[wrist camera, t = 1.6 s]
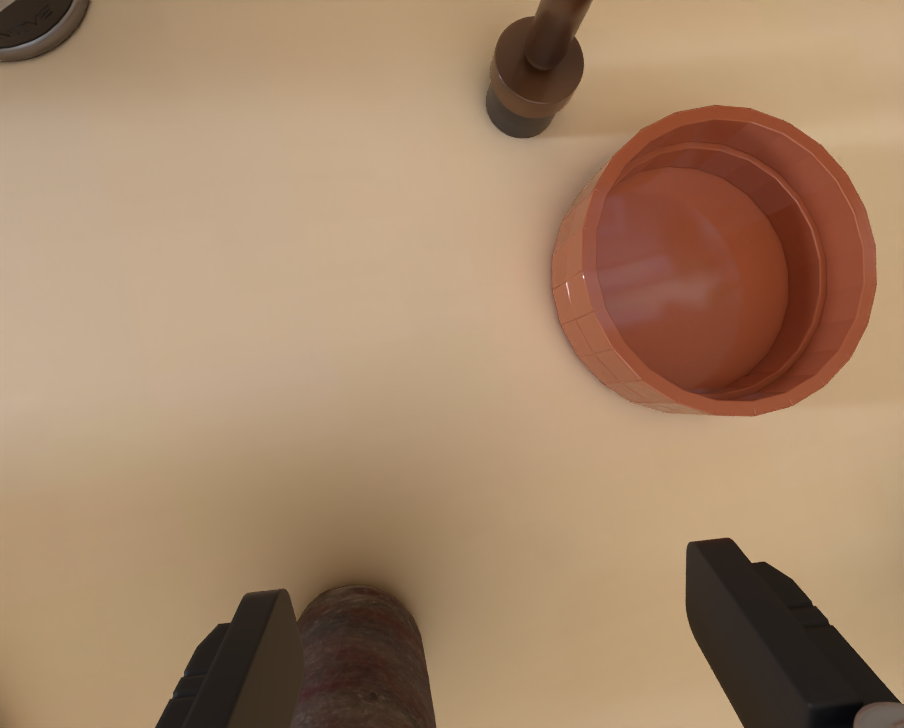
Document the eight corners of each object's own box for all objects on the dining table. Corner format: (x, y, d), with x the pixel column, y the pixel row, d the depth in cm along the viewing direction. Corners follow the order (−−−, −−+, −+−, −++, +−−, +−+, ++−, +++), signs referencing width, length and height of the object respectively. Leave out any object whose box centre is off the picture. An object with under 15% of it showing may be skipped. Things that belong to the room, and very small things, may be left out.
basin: (501, 224, 34) (524, 187, 28) (719, 113, 36) (784, 57, 30) (628, 461, 34) (679, 474, 28) (839, 336, 36) (928, 324, 30)
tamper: (466, 85, 34) (532, -187, 18) (535, 53, 35) (656, -236, 19) (504, 156, 34) (604, -55, 18) (572, 123, 35) (725, -109, 19)
